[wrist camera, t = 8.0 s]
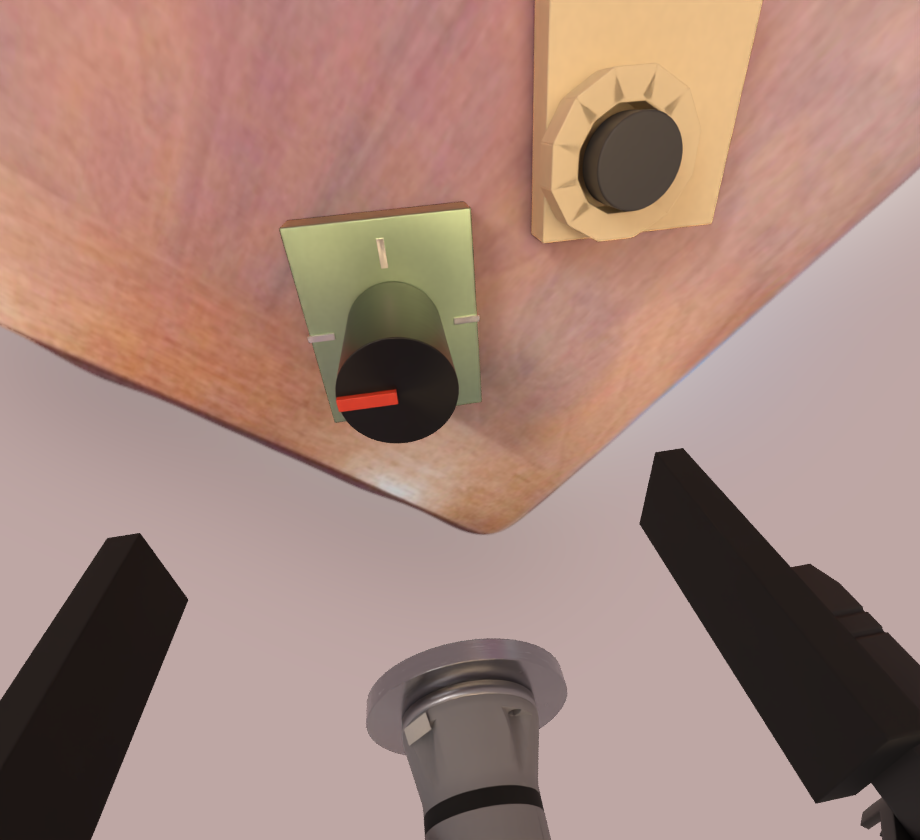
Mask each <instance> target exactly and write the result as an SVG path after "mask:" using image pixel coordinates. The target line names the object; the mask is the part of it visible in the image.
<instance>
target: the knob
mask: <svg viewBox="0 0 920 840" xmlns="http://www.w3.org/2000/svg"><path fill="white" fill-rule="evenodd" d="M335 396H336V403H337V407H338V410H339V412H341V413H342V415H343V417H344V418H345V419H346V421H347V422H348V423H349V424H350V425H351V426H352V427H353V428H354V429H355V430H357V431H358V432H360V433H361V434H363V435H365V436H367V437H369V438H371V439H374V440H377V441H381V442H386V443H408V442H413V441H417V440H420V439H423V438H425V437H427V436H429V435H431V434H433V433H434V432H436V431H437V430H438V429H440V428H441V427H442V426H443V425H444V424H445V423H446V422H447V421H448V419H449V418H450V417H451V415H452V413H453V412H454V410H455V407H456V405H457V401H458V396H459V383H458V378H457V374H456V371H455V367H454V364H453V360H452V357H451V353H450V350H449V346H448V343H447V339H446V336H445V332H444V329H443V325H442V322H441V318H440V315H439V312H438V310H437V308H436V306H435V304H434V303H433V301H432V300H431V299H430V298H429V297H428V296H427V295H426V294H425V293H424V292H422V291H421V290H420V289H418V288H416V287H414V286H412V285H409V284H405V283H401V282H386V283H381V284H378V285H375V286H373V287H370V288H369V289H367V290H366V291H364V292H363V293H362V294H361V295H359V296H358V298H357V299H356V300H355V301H354V303H353V305H352V306H351V309H350V311H349V314H348V318H347V324H346V329H345V335H344V340H343V346H342V351H341V357H340V362H339V368H338V373H337V379H336V386H335Z"/></svg>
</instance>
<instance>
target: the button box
mask: <svg viewBox="0 0 920 840" xmlns="http://www.w3.org/2000/svg"><path fill="white" fill-rule="evenodd" d="M762 2H763V0H535V21H534V90H533V160H532V229H531V234H532V235H533V236H534V237H536V238H537V239H538V240H540V241H541V242H542V243H552V242H561V241H570V240H578V239H587V238H592V239H593V240H595V241H598V242H602V241H610V240H619V239H627V238H633V237H635V236H636V235H638V234H639V233H641V232H647V231H656V230H664V229H673V228H681V227H690V226H699V225H707V224H711V223H712V220H713V216H714V211H715V207H716V202H717V198H718V194H719V189H720V185H721V181H722V176H723V172H724V168H725V163H726V159H727V154H728V150H729V146H730V141H731V137H732V133H733V128H734V124H735V120H736V115H737V111H738V106H739V102H740V98H741V93H742V89H743V85H744V80H745V76H746V72H747V67H748V63H749V58H750V54H751V50H752V45H753V41H754V37H755V32H756V28H757V23H758V19H759V15H760V10H761V6H762ZM638 109H655V110H659V111H662V112H664V113H666V114H668V115H669V116H670V117H671V118H672V119H673V120H674V121H675V123H676V124H677V126H678V128H679V130H680V133H681V137H682V144H683V153H682V160H681V164H680V168H679V171H678V173H677V175H676V178H675V179H674V181H673V183H672V185H671V186H670V187H669V189H668V190H667V191H666V192H665V194H664V195H663V196H662V197H661V198H660V199H658V200H657V201H656V202H655V203H653V204H651V205H650V206H648V207H646V208H644V209H641V210H637V211H622V210H618V209H615V208H613V207H610V206H608V205H605V204H603V203H601V202H599V201H597V200H596V199H595V198H594V197H592V196H591V194H590V193H589V191H588V190H587V188H586V185H585V183H584V179H583V171H582V165H583V157H584V153H585V150H586V147H587V144H588V142H589V140H590V138H591V136H592V135H593V133H594V132H595V130H596V129H597V128H598V127H599V126H600V124H601V123H602V122H604V121H605V120H606V119H607V118H609V117H610V116H612V115H614V114H616V113H618V112H621V111H625V110H638Z"/></svg>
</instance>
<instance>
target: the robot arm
mask: <svg viewBox="0 0 920 840" xmlns="http://www.w3.org/2000/svg"><path fill="white" fill-rule="evenodd" d="M640 525H641V527H642V529H643V530H644V532H645V533H646V535H647V536H648V538H649V540H650V541H651V543H652V544H653V546H654V547H655V549H656V551H657V552H658V554H659V556H660V557H661V559H662V560H663V562H664V563H665V565H666V567H667V568H668V570H669V571H670V573H671V575H672V576H673V578H674V579H675V581H676V582H677V584H678V586H679V587H680V589H681V590H682V592H683V594H684V595H685V597H686V598H687V600H688V602H689V603H690V605H691V606H692V608H693V610H694V611H695V613H696V614H697V616H698V617H699V619H700V621H701V622H702V624H703V625H704V627H705V628H706V630H707V632H708V633H709V635H710V636H711V638H712V640H713V641H714V643H715V644H716V646H717V648H718V649H719V651H720V652H721V654H722V656H723V657H724V659H725V660H726V662H727V663H728V665H729V666H730V668H731V670H732V671H733V673H734V675H735V676H736V678H737V679H738V681H739V683H740V684H741V686H742V687H743V689H744V690H745V692H746V694H747V695H748V697H749V698H750V700H751V702H752V703H753V705H754V706H755V708H756V709H757V711H758V713H759V714H760V716H761V717H762V719H763V721H764V722H765V724H766V725H767V727H768V729H769V730H770V732H771V733H772V735H773V737H774V738H775V740H776V741H777V743H778V744H779V746H780V748H781V749H782V750H783V752H784V754H785V755H786V757H787V759H788V760H789V762H790V764H791V765H792V767H793V768H794V770H795V771H796V773H797V774H798V776H799V778H800V779H801V781H802V782H803V784H804V786H805V787H806V789H807V790H808V792H809V794H810V795H811V797H812V798H813V800H814V801H815V803H821V802H825V801H830V800H834V799H839V798H843V797H848V796H852V795H856V794H857V793H859V792H860V791H861V790H862V789H864V788H865V787H866V786H867V785H869V784H870V783H872V784H873V786H874V787H875V788H876V790H877V791H878V793H879V794H880V795H881V797H882V798H881V799H879V800H878V801H876V802H875V803H874V804H872V805H871V806H870V807H869V808H867V809H866V810H865V811H864V812H863V814H862V820H861V826H863V827H865V828H867V829H870V828H871V827H873V826H874V825H876V824H877V823H879V822H880V821H881V829H882V831H881V833H880V836H882V840H920V665H919V664H918V663H917V662H916V661H915V660H914V659H913V658H912V657H911V656H910V655H909V654H908V653H907V652H906V651H905V650H904V649H903V648H902V647H901V646H900V645H899V643H897V642H896V640H895V639H894V638H893V637H892V636H891V635H890V634H889V633H886V632H884V631H883V629H882V626H881V625H880V624H879V623H878V622H877V621H876V620H875V619H874V618H873V617H872V616H871V615H870V614H869V613H868V612H865V611H864V610H863V607H862V606H861V605H860V604H859V603H858V602H857V601H856V600H855V599H854V598H853V597H852V596H851V595H850V593H849V592H848V591H847V590H845V589H844V587H843V586H842V585H841V584H840V583H839V582H837V581H835V580H834V579H832V578H831V577H829V576H828V575H826V574H825V573H823V572H822V571H820V570H819V569H817V568H815V567H814V566H812V565H811V564H807V565H801V566H795V567H790V566H789V565H788V564H787V563H786V561H785V560H784V559H783V558H782V557H781V556H780V555H779V554H778V553H777V552H776V550H775V549H774V548H773V547H772V546H771V545H770V544H769V543H768V542H767V540H766V539H765V538H764V537H763V536H762V535H761V534H760V533H759V532H758V531H757V529H756V528H755V527H754V526H753V525H752V524H751V523H750V522H749V521H748V520H747V518H746V517H745V516H744V515H743V514H742V513H741V512H740V511H739V510H738V509H737V507H736V506H735V505H734V504H733V503H732V502H731V501H730V500H729V499H728V497H727V496H726V495H725V494H724V493H723V492H722V491H721V490H720V489H719V488H718V487H717V485H716V484H715V483H714V482H713V481H712V480H711V479H710V478H709V477H708V475H707V474H706V473H705V472H704V471H703V470H702V469H701V468H700V467H699V465H698V464H697V463H696V462H695V461H694V460H693V459H692V458H691V457H690V455H689V454H688V453H687V452H686V451H685V450H684V449H683V448H681V449H675V450H668V451H662V452H656V453H655V456H654V461H653V465H652V470H651V474H650V479H649V483H648V488H647V493H646V497H645V502H644V506H643V511H642V516H641V520H640ZM187 602H188V599H187V597H186V596H185V594H184V593H183V592H182V591H181V589H180V587H179V586H178V585H177V583H176V582H175V581H174V579H173V578H172V577H171V575H170V574H169V572H168V571H167V570H166V568H165V567H164V565H163V564H162V563H161V561H160V560H159V559H158V557H157V556H156V554H155V553H154V552H153V550H152V549H151V548H150V546H149V545H148V543H147V542H146V541H145V539H144V538H143V537H142V535H141V534H140V533H137V534H131V535H125V536H118V537H112V538H107V540H106V541H105V542H104V544H103V545H102V547H101V549H100V550H99V552H98V553H97V555H96V556H95V558H94V559H93V561H92V562H91V564H90V565H89V567H88V568H87V570H86V571H85V573H84V574H83V576H82V577H81V579H80V580H79V582H78V583H77V585H76V586H75V588H74V589H73V591H72V593H71V594H70V596H69V597H68V599H67V600H66V602H65V603H64V605H63V606H62V608H61V609H60V611H59V612H58V614H57V615H56V617H55V618H54V620H53V621H52V623H51V625H50V626H49V627H48V629H47V630H46V632H45V633H44V635H43V637H42V638H41V640H40V641H39V643H38V644H37V646H36V647H35V649H34V650H33V652H32V653H31V655H30V656H29V658H28V659H27V661H26V662H25V664H24V665H23V667H22V668H21V670H20V671H19V673H18V675H17V676H16V678H15V679H14V681H13V682H12V684H11V685H10V687H9V688H8V690H7V691H6V693H5V694H4V696H3V697H2V699H1V700H0V840H91V838H92V836H93V833H94V831H95V828H96V826H97V823H98V821H99V819H100V816H101V814H102V811H103V809H104V806H105V804H106V801H107V799H108V796H109V794H110V791H111V789H112V786H113V784H114V782H115V779H116V777H117V774H118V772H119V769H120V767H121V764H122V762H123V759H124V757H125V754H126V752H127V750H128V747H129V745H130V742H131V740H132V737H133V735H134V732H135V730H136V727H137V725H138V722H139V720H140V718H141V715H142V713H143V710H144V707H145V705H146V703H147V700H148V698H149V695H150V693H151V690H152V688H153V685H154V683H155V680H156V678H157V676H158V673H159V671H160V668H161V666H162V663H163V661H164V658H165V656H166V654H167V651H168V648H169V646H170V644H171V641H172V639H173V636H174V634H175V631H176V629H177V626H178V624H179V621H180V619H181V617H182V614H183V612H184V609H185V606H186V604H187ZM402 739H403V744H404V749H405V752H406V755H407V758H408V761H409V765H410V768H411V771H412V774H413V777H414V780H415V783H416V786H417V790H418V792H419V795H420V799H421V802H422V805H423V812H424V826H425V840H551V838H550V834H549V830H548V825H547V821H546V817H545V813H544V809H543V805H542V801H541V796H540V791H539V787H538V747H539V746H538V745H539V741H538V740H539V718H538V710H537V706H536V703H535V699H534V696H533V694H532V692H531V691H530V690H529V689H527V688H526V687H524V686H522V685H520V684H517V683H514V682H510V681H505V680H492V679H488V680H474V681H467V682H462V683H457V684H453V685H450V686H447V687H444V688H441V689H438V690H436V691H434V692H431V693H429V694H428V695H426V696H424V697H422V698H421V699H419V700H418V701H416V702H415V703H414V704H413V705H412V706H411V707H410V708H409V709H408V710H407V711H406V712H405V714H404V716H403V719H402Z"/></svg>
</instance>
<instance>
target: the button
mask: <svg viewBox="0 0 920 840" xmlns="http://www.w3.org/2000/svg"><path fill="white" fill-rule="evenodd" d="M682 153H683V144H682V137H681V133H680V130H679V128H678V126H677V124H676V123H675V121H674V120H673V119H672V118H671V117H670V116H669V115H668V114H666V113H664V112H662V111H659V110H655V109H638V110H625V111H621V112H618V113H616V114H614V115H612V116H610V117H609V118H607V119H606V120H605V121H604V122H602V123H601V124H600V126H599V127H598V128H597V129H596V130H595V132H594V133H593V135H592V136H591V138H590V140H589V142H588V144H587V147H586V150H585V153H584V157H583V165H582V171H583V179H584V183H585V185H586V188H587V190H588V191H589V193H590V194H591V196H592V197H594V198H595V199H596V200H597V201H599V202H601V203H603V204H605V205H608V206H610V207H613V208H615V209H618V210H622V211H637V210H641V209H644V208H646V207H648V206H650V205H651V204H653V203H655V202H656V201H657V200H658V199H660V198H661V197H662V196H663V195H664V194H665V192H666V191H667V190H668V189H669V187H670V186H671V185H672V183H673V181H674V179H675V178H676V175H677V173H678V171H679V168H680V164H681V160H682Z"/></svg>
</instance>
